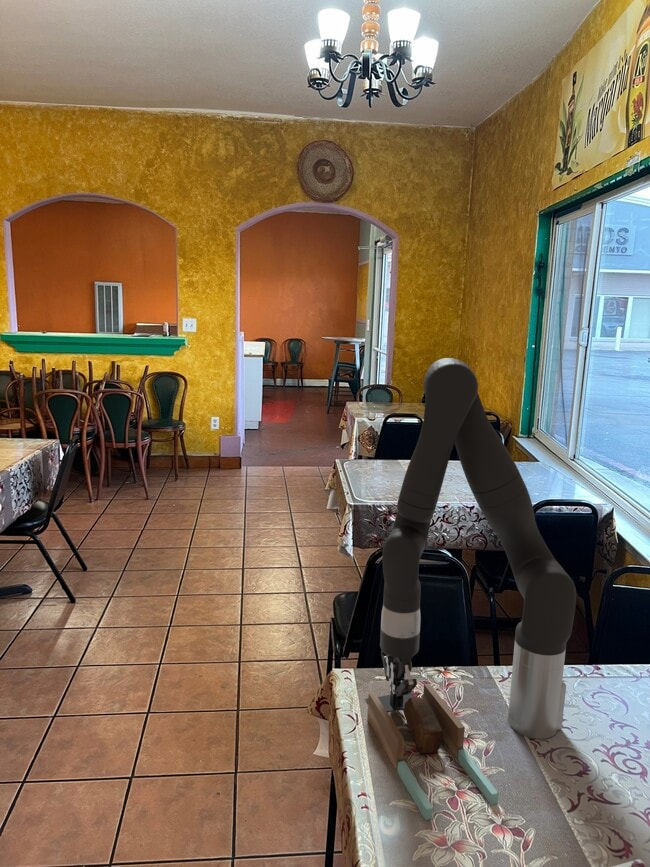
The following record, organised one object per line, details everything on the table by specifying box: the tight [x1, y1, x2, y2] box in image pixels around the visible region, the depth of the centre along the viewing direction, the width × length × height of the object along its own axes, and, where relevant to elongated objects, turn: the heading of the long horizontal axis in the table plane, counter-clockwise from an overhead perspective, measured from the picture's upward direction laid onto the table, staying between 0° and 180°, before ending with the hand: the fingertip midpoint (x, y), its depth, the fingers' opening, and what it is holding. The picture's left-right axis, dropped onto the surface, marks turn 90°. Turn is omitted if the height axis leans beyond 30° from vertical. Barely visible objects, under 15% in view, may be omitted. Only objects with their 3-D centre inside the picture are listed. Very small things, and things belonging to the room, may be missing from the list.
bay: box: [396, 748, 499, 821], centre depth 107 cm, size 13×11×2 cm
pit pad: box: [364, 692, 414, 713], centre depth 130 cm, size 10×5×1 cm, turn 107°
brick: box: [403, 696, 443, 754], centre depth 120 cm, size 11×4×5 cm, turn 10°
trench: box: [366, 683, 466, 771], centre depth 119 cm, size 13×14×6 cm
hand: (396, 707), depth 127 cm, fingers closed
